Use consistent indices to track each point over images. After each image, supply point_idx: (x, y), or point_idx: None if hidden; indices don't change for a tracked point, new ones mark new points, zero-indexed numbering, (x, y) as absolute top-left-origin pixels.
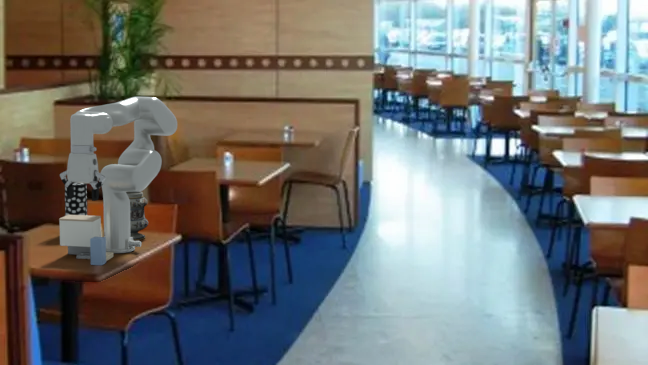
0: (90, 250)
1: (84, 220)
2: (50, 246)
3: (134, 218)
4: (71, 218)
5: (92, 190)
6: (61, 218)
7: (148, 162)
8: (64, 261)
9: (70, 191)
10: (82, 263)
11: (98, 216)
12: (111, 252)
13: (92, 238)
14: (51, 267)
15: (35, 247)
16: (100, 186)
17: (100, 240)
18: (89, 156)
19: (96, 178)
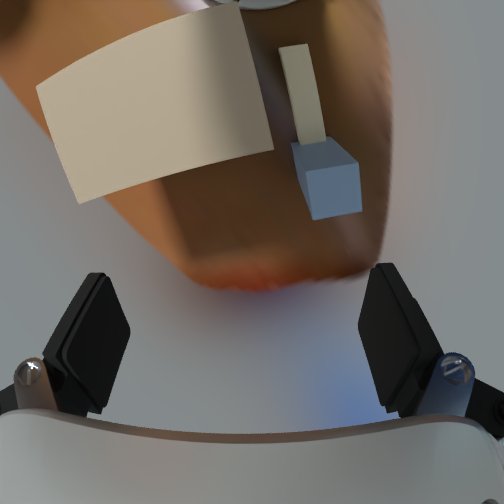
0: (305, 199)
1: (219, 161)
2: (24, 45)
3: None
4: (123, 166)
5: (388, 402)
6: (83, 194)
7: None
8: (190, 175)
9: (105, 364)
10: (261, 173)
11: (231, 22)
12: (302, 48)
13: (317, 208)
14: (209, 250)
15: (5, 83)
16: (475, 384)
17: (356, 210)
18: None
19: (459, 460)
